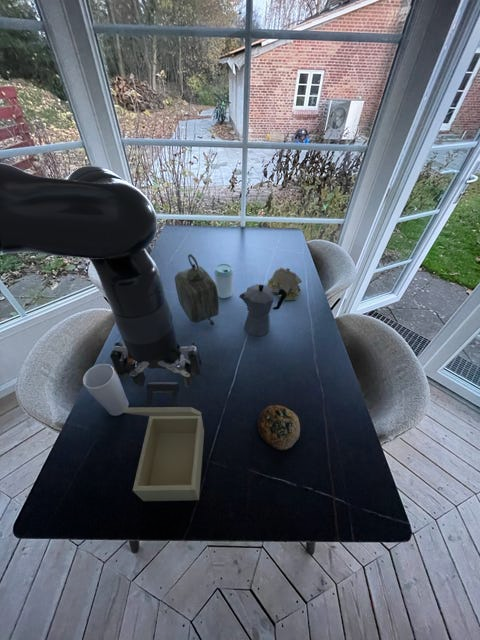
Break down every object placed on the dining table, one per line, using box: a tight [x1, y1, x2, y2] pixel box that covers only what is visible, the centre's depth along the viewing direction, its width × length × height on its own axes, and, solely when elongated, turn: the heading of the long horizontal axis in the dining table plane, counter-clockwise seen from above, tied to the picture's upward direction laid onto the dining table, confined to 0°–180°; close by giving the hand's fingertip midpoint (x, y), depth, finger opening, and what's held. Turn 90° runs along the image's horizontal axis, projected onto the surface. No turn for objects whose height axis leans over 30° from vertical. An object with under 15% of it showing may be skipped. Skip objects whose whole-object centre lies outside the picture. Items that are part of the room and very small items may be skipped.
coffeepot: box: [238, 283, 287, 337], centre depth 86 cm, size 15×9×18 cm, turn 101°
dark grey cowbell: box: [174, 253, 220, 326], centre depth 86 cm, size 14×9×25 cm, turn 31°
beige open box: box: [132, 415, 205, 502], centre depth 58 cm, size 15×12×9 cm
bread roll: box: [256, 404, 301, 451], centre depth 66 cm, size 11×11×5 cm
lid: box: [122, 381, 202, 417], centre depth 53 cm, size 15×12×5 cm
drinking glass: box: [82, 363, 130, 417], centre depth 65 cm, size 7×7×15 cm
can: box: [213, 263, 234, 299], centre depth 100 cm, size 7×7×12 cm
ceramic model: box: [267, 267, 303, 301], centre depth 103 cm, size 14×11×10 cm
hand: (165, 382), depth 50 cm, fingers open, 8 cm apart
